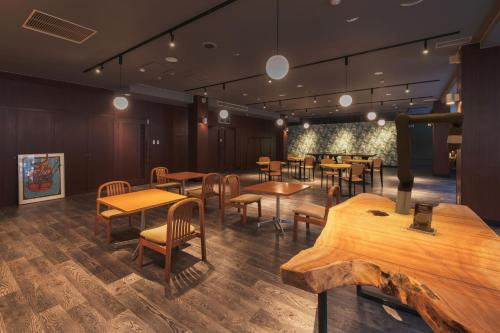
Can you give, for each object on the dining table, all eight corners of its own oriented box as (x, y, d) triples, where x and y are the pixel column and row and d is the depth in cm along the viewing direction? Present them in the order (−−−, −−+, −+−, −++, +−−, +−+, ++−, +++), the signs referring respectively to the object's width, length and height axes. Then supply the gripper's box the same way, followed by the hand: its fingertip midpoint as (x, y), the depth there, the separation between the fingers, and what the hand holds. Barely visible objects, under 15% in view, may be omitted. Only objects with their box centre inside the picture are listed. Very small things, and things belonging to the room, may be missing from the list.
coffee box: (411, 228, 155) (414, 203, 153) (413, 225, 159) (416, 201, 157) (429, 232, 148) (432, 206, 146) (431, 229, 153) (433, 204, 151)
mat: (406, 229, 154) (406, 228, 153) (409, 224, 163) (409, 223, 163) (434, 235, 145) (434, 233, 145) (435, 229, 154) (436, 228, 154)
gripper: (447, 142, 174) (445, 164, 176) (446, 142, 164) (444, 166, 166) (461, 142, 170) (458, 165, 172) (461, 142, 159) (458, 167, 161)
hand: (451, 166), depth 169 cm, fingers open, 8 cm apart
